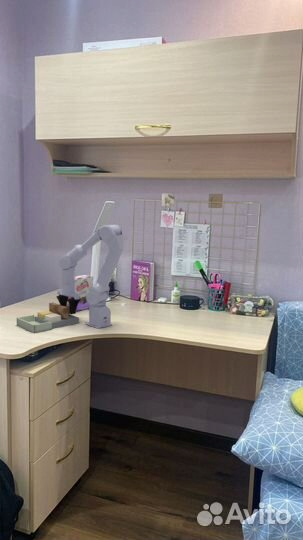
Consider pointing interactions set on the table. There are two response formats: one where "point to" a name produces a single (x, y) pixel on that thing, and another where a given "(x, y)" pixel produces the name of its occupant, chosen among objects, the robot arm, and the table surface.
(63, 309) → the scraper
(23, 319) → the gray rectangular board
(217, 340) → the table surface
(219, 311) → the table surface
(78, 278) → the candy box
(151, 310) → the table surface
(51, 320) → the tile ivory
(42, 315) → the tile mustard
